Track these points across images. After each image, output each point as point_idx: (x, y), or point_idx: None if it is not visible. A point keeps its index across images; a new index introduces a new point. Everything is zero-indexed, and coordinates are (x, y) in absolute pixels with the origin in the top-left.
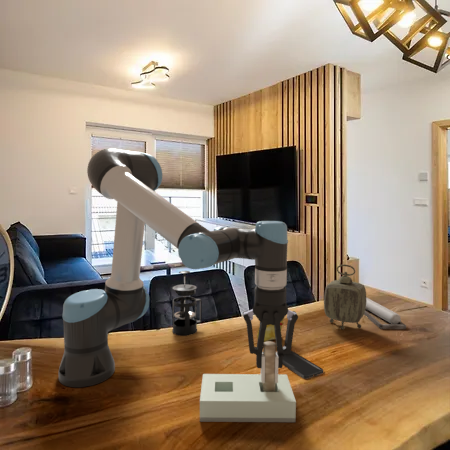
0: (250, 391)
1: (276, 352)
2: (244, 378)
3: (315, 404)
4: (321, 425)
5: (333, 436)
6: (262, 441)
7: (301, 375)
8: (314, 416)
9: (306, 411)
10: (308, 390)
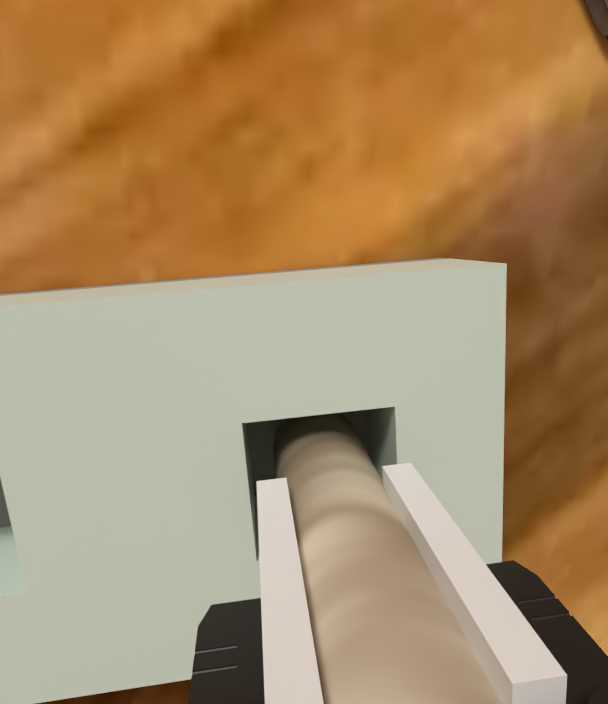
0: (174, 569)
1: (557, 695)
2: (101, 379)
3: (591, 370)
4: (567, 544)
5: (597, 609)
6: None
7: (602, 9)
8: (553, 480)
9: (522, 443)
10: (593, 214)
